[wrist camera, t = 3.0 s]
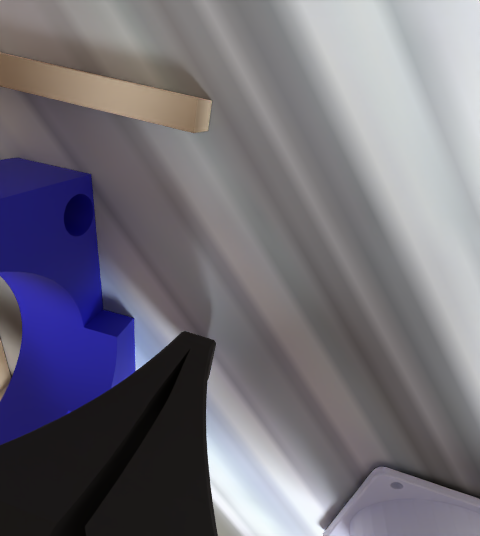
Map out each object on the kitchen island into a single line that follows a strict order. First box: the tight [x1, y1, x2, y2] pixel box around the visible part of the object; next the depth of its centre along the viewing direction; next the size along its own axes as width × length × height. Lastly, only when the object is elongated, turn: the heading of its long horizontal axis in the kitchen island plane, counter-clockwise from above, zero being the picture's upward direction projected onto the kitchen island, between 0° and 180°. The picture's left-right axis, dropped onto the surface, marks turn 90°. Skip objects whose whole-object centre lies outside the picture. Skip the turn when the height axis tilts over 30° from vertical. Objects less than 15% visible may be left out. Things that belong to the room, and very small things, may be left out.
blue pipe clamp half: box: [0, 158, 135, 445], centre depth 11 cm, size 12×4×6 cm, turn 171°
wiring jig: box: [0, 52, 212, 401], centre depth 11 cm, size 11×18×4 cm, turn 169°
